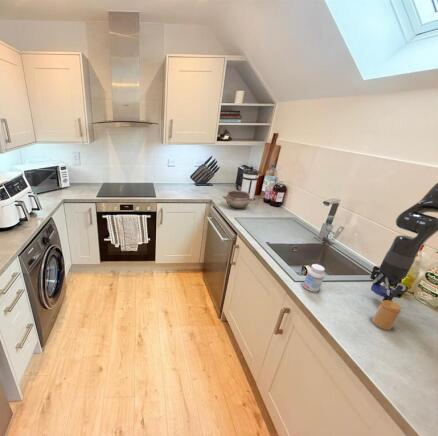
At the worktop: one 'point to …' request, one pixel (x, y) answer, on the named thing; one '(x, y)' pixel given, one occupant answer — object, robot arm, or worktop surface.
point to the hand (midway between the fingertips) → (379, 296)
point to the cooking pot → (238, 199)
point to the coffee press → (248, 181)
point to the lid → (380, 290)
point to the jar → (386, 314)
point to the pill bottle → (314, 278)
